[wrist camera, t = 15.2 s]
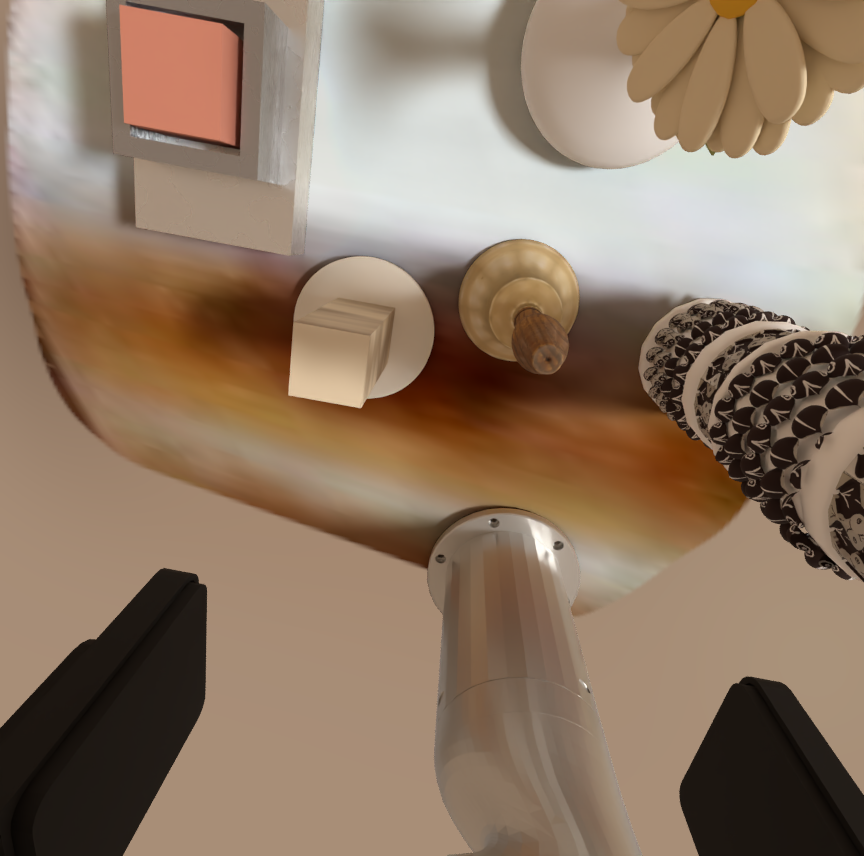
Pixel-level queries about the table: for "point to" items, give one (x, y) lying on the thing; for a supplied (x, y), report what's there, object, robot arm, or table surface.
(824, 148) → the table surface
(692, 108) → the flower in vase
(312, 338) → the pale wood brick
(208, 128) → the button
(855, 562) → the decorative candle
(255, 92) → the base
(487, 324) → the hand bell
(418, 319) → the coaster
